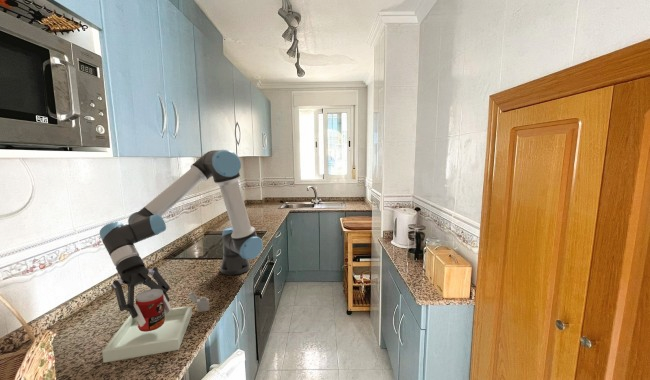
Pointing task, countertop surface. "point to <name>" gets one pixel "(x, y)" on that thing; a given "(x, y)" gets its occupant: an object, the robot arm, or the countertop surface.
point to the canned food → (151, 309)
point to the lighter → (200, 302)
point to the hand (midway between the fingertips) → (156, 317)
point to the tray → (148, 337)
